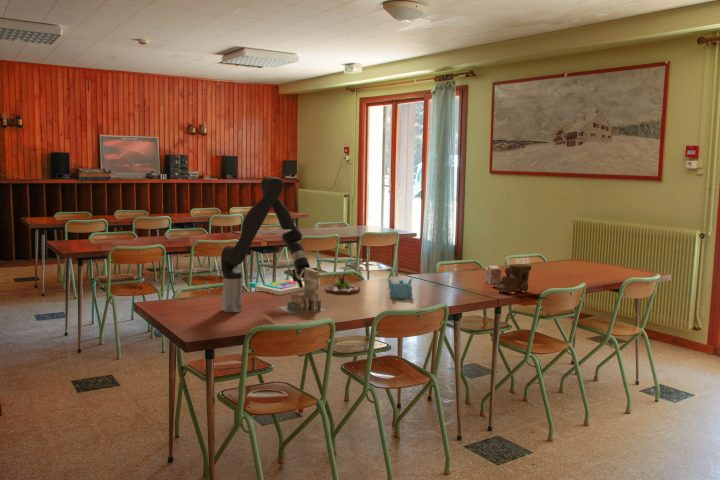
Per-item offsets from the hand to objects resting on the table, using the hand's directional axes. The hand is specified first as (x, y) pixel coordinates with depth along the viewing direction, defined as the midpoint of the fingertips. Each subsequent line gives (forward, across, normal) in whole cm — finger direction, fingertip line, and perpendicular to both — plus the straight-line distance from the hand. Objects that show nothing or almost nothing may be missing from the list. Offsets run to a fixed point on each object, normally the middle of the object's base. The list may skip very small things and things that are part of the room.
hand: (309, 286), depth 339 cm
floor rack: (+10, -5, +7) cm, 14 cm away
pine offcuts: (+9, -6, +6) cm, 13 cm away
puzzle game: (-31, +8, +50) cm, 60 cm away
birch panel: (+9, 0, +6) cm, 11 cm away
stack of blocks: (-4, +140, +22) cm, 141 cm away
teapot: (+4, +61, +14) cm, 63 cm away
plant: (-16, +39, +34) cm, 54 cm away
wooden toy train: (+14, +135, +4) cm, 136 cm away
